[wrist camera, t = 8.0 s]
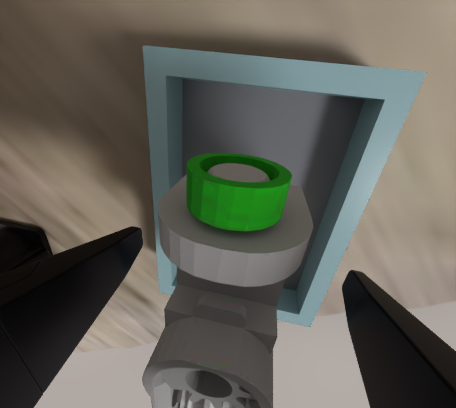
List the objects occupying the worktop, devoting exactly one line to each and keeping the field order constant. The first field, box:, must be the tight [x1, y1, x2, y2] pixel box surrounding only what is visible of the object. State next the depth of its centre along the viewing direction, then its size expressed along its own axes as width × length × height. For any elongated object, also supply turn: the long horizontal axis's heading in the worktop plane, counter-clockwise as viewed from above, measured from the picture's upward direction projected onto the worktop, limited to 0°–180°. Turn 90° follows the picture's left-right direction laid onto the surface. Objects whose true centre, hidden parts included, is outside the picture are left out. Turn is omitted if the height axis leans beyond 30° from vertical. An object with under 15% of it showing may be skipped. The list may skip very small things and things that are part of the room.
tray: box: [142, 45, 427, 327], centre depth 13 cm, size 11×15×3 cm
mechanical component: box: [142, 153, 313, 408], centre depth 9 cm, size 3×10×10 cm, turn 174°
